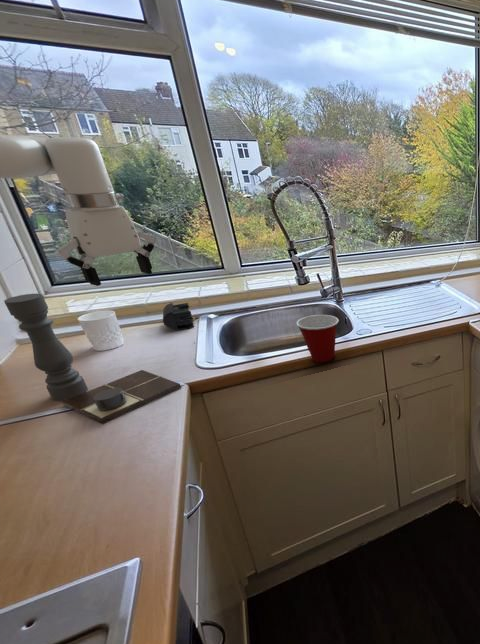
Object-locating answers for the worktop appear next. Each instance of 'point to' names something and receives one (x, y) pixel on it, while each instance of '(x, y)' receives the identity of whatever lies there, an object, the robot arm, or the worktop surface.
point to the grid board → (136, 390)
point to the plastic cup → (319, 336)
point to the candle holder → (47, 346)
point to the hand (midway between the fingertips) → (122, 278)
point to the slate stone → (110, 399)
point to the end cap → (177, 316)
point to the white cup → (102, 329)
